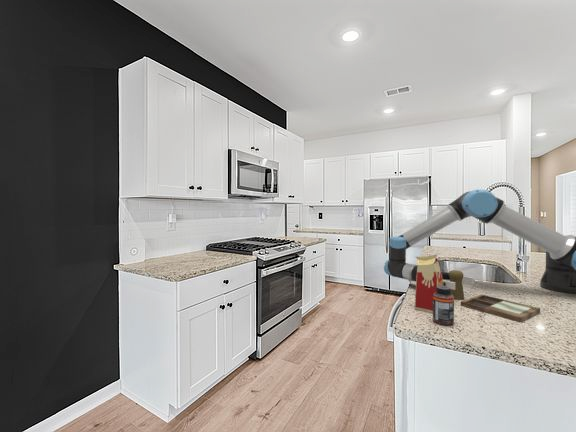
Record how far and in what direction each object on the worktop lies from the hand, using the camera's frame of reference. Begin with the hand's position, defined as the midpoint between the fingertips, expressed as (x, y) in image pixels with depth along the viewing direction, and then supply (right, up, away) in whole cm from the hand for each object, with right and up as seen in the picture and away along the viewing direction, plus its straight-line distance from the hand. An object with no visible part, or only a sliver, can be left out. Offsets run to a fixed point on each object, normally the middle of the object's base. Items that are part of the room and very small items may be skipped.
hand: (464, 283), depth 114 cm
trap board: (+6, -7, -10) cm, 14 cm away
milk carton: (-19, -7, -9) cm, 22 cm away
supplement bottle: (-20, -7, -22) cm, 30 cm away
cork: (-2, -7, +3) cm, 7 cm away
